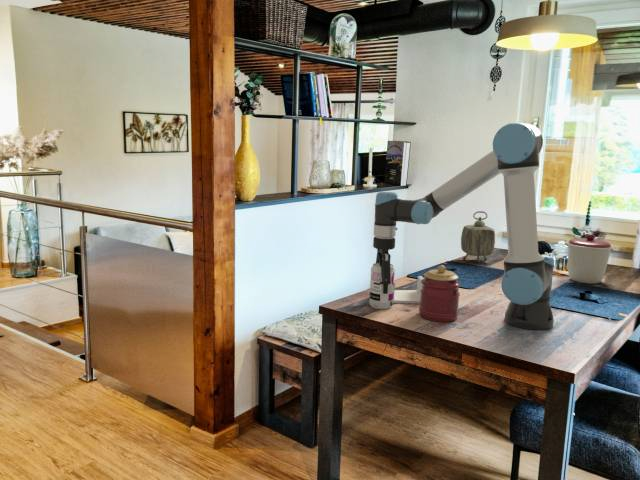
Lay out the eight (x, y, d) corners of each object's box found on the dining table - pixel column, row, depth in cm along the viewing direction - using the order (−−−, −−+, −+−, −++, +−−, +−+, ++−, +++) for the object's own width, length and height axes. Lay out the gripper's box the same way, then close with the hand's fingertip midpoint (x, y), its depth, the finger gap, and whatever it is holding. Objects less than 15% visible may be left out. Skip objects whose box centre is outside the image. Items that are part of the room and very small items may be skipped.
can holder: (428, 303, 201) (429, 285, 200) (390, 303, 201) (391, 284, 200) (420, 292, 215) (421, 275, 214) (384, 292, 215) (385, 274, 213)
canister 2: (568, 284, 235) (574, 235, 231) (558, 274, 253) (563, 228, 249) (614, 288, 232) (620, 238, 228) (600, 277, 250) (606, 231, 246)
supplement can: (391, 303, 200) (394, 263, 198) (392, 310, 192) (395, 268, 190) (369, 302, 201) (371, 261, 198) (369, 309, 193) (371, 267, 190)
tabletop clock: (487, 259, 279) (492, 210, 274) (494, 264, 270) (499, 213, 265) (459, 259, 278) (463, 209, 273) (465, 263, 269) (469, 212, 264)
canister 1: (429, 323, 180) (433, 270, 177) (412, 311, 192) (415, 261, 189) (465, 321, 183) (469, 269, 180) (446, 309, 196) (450, 260, 192)
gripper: (401, 243, 180) (398, 307, 184) (389, 231, 204) (386, 287, 208) (378, 243, 180) (375, 307, 184) (369, 230, 204) (366, 287, 208)
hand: (381, 296), depth 196 cm, fingers open, 12 cm apart
